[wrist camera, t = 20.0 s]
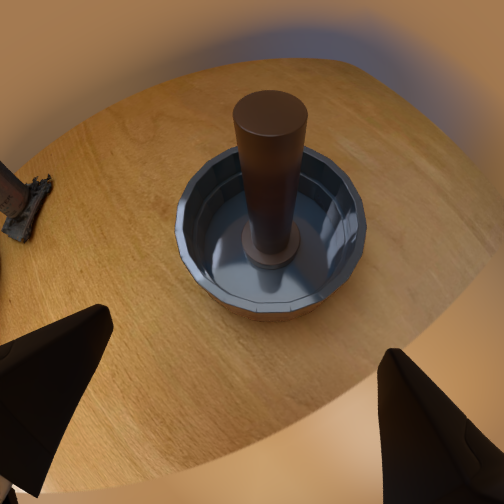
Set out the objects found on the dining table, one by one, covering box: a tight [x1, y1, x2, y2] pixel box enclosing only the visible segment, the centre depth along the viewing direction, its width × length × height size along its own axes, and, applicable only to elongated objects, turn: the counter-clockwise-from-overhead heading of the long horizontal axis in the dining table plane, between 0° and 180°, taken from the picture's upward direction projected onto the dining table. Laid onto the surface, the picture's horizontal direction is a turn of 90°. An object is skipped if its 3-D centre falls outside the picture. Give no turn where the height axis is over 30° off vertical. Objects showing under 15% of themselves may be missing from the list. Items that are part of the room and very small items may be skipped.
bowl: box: [175, 146, 367, 322], centre depth 20 cm, size 12×12×6 cm
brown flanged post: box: [233, 90, 308, 270], centre depth 16 cm, size 4×4×13 cm
